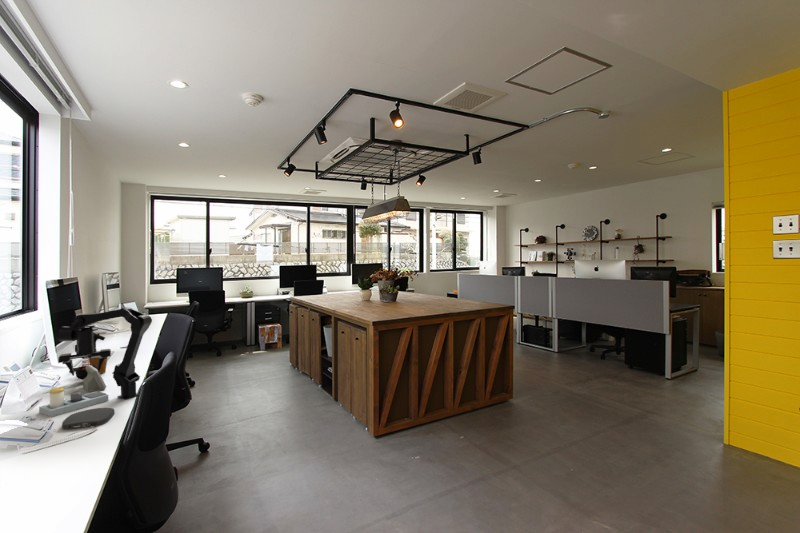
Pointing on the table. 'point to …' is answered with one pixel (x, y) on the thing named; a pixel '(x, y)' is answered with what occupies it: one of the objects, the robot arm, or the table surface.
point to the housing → (71, 405)
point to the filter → (81, 371)
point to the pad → (94, 394)
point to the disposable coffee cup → (96, 362)
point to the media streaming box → (88, 418)
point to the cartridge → (56, 397)
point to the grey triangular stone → (93, 379)
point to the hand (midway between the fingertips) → (86, 373)
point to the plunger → (76, 396)
